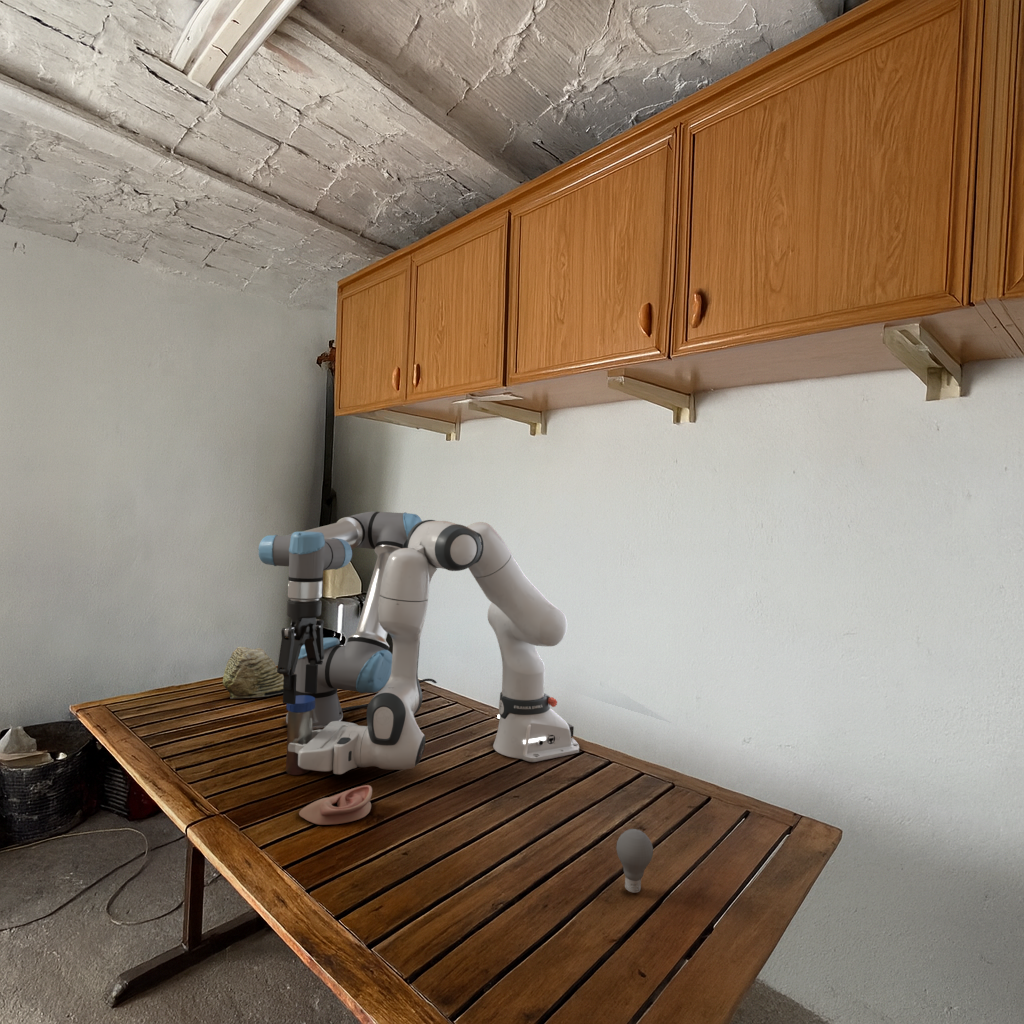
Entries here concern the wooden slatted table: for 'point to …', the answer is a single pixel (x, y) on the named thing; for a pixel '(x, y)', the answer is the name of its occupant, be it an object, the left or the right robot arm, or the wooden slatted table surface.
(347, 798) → the anatomical model
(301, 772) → the jar
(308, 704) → the lid
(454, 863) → the wooden slatted table surface
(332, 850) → the wooden slatted table surface
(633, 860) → the light bulb
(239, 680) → the fossil
